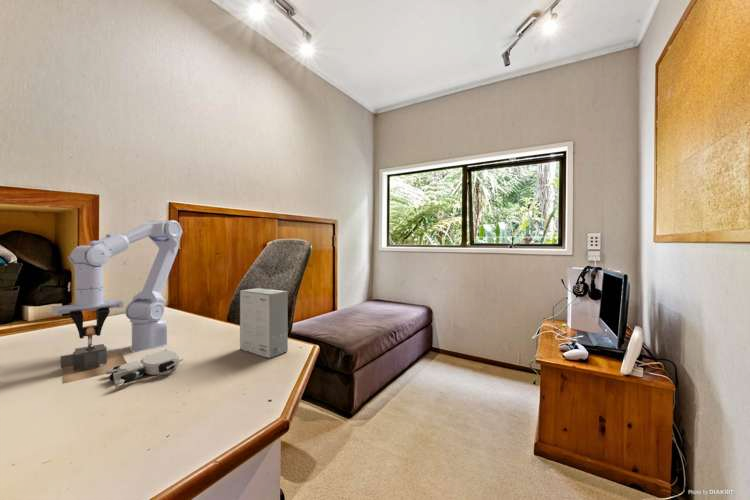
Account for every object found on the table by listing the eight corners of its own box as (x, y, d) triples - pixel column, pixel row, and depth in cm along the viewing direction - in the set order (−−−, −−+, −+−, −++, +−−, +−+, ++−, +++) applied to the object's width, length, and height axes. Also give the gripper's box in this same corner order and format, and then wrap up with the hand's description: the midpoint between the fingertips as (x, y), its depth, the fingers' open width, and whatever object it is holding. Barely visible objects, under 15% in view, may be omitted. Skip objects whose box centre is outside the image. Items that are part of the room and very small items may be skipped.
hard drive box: (288, 351, 100) (288, 291, 100) (269, 359, 93) (269, 294, 93) (258, 343, 108) (258, 287, 108) (238, 349, 102) (238, 289, 101)
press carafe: (105, 359, 91) (105, 343, 91) (108, 365, 86) (107, 348, 86) (60, 367, 84) (60, 350, 84) (60, 375, 79) (60, 357, 79)
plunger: (100, 347, 89) (100, 323, 89) (102, 352, 86) (102, 326, 86) (77, 351, 86) (77, 326, 86) (78, 356, 83) (78, 329, 82)
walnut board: (120, 353, 97) (120, 351, 97) (129, 370, 84) (129, 368, 84) (62, 364, 88) (62, 363, 88) (62, 385, 75) (62, 383, 75)
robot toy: (116, 396, 72) (186, 371, 84) (114, 378, 71) (185, 355, 83) (104, 382, 79) (170, 360, 91) (102, 365, 79) (168, 346, 91)
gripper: (120, 284, 94) (120, 328, 94) (51, 289, 83) (51, 339, 83) (124, 286, 89) (125, 332, 89) (52, 292, 78) (53, 344, 78)
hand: (90, 336), depth 86 cm, fingers closed on plunger, 3 cm apart
